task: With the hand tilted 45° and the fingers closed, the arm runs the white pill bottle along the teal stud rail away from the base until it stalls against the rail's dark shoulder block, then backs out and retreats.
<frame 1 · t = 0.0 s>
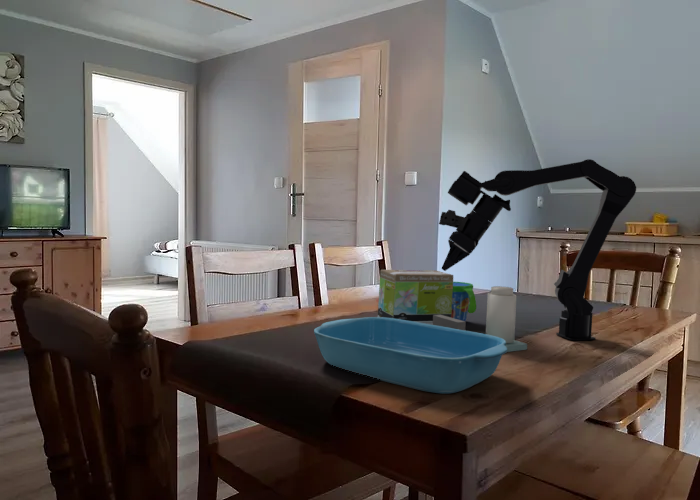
hand: (445, 268, 140), 15 cm above the table, tool tilted 35°, fingers open, 9 cm apart
snack cup: (451, 322, 149), on the table
tea box: (413, 333, 134), on the table
white pill bottle: (501, 314, 121), point 7 cm above the table, slide at 0.0 cm
casserole dish: (405, 372, 102), on the table
stud rail: (481, 349, 119), on the table
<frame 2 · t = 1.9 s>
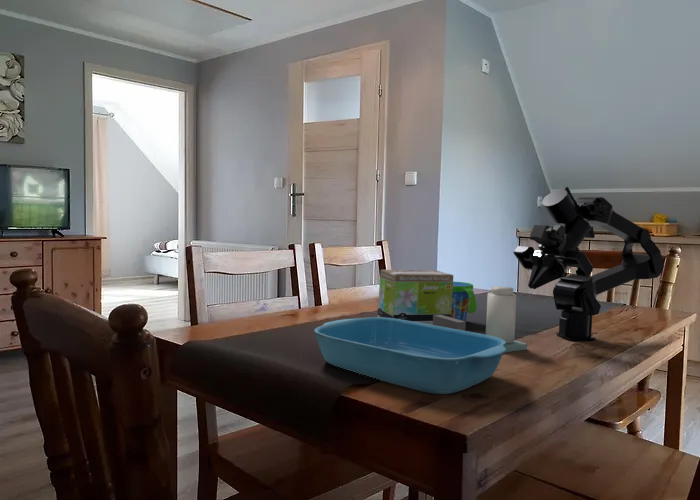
hand: (531, 287, 125), 13 cm above the table, tool tilted 45°, fingers closed
nothing on the table moved.
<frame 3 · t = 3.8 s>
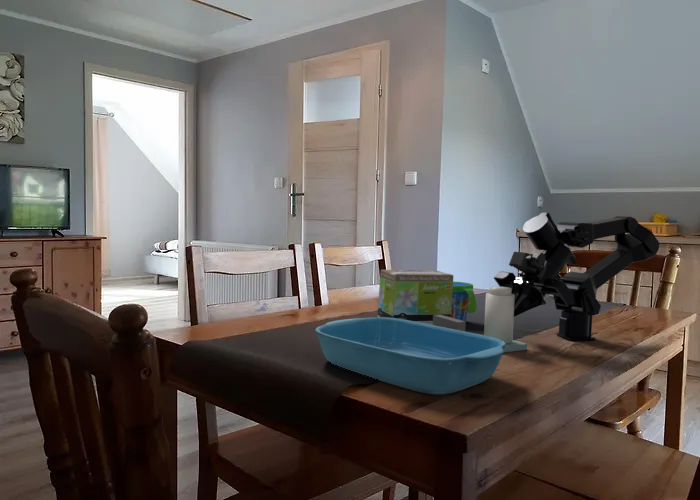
hand: (510, 315, 122), 7 cm above the table, tool tilted 45°, fingers closed, pressing on white pill bottle
white pill bottle: (499, 314, 121), point 7 cm above the table, slide at 0.5 cm, touching gripper
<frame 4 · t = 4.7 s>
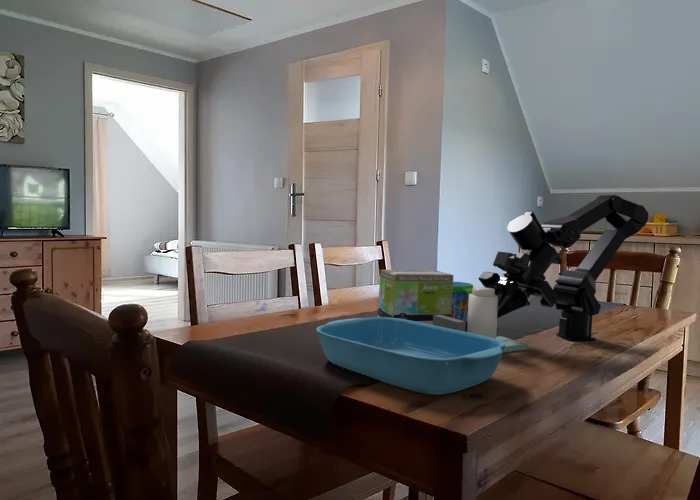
hand: (494, 316, 120), 7 cm above the table, tool tilted 45°, fingers closed, pressing on white pill bottle
white pill bottle: (482, 315, 118), point 7 cm above the table, slide at 5.2 cm, touching gripper
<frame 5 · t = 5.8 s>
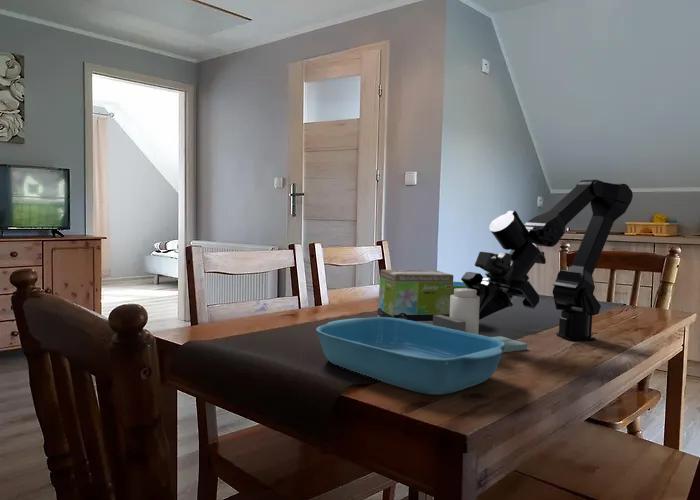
hand: (476, 318, 118), 7 cm above the table, tool tilted 45°, fingers closed, pressing on white pill bottle
white pill bottle: (464, 317, 116), point 7 cm above the table, slide at 10.2 cm, touching gripper, stud rail
everything else where it was.
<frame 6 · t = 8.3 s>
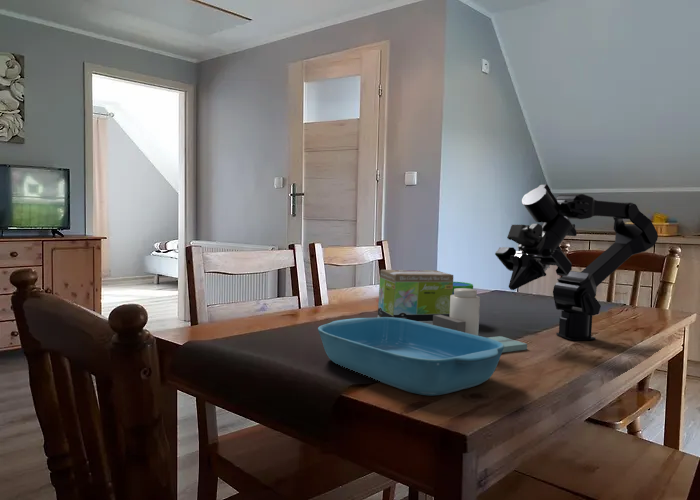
hand: (510, 288, 122), 13 cm above the table, tool tilted 45°, fingers closed
white pill bottle: (464, 317, 116), point 7 cm above the table, slide at 10.2 cm
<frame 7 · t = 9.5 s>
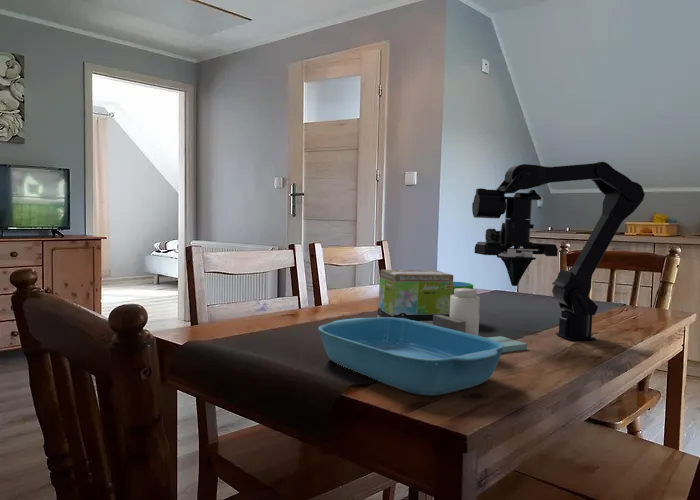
hand: (514, 285, 131), 12 cm above the table, tool pointing down, fingers closed
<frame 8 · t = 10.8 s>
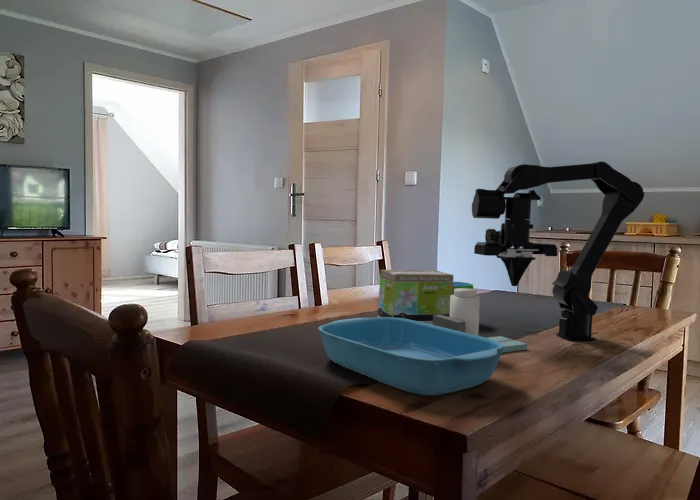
hand: (514, 286, 132), 12 cm above the table, tool pointing down, fingers closed
nothing on the table moved.
at the end: white pill bottle slide at 10.2 cm; the gripper is holding nothing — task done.
